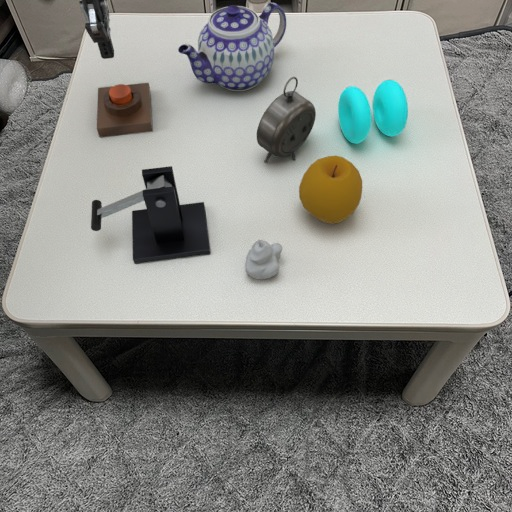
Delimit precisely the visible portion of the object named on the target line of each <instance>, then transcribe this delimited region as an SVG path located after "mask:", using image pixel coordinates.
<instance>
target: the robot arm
mask: <svg viewBox="0 0 512 512" xmlns="http://www.w3.org/2000/svg"><path fill="white" fill-rule="evenodd" d="M107 2H108V0H79V1H78V5H79V9H80V11H81V13H82V14H83V15H84V20H85V22H86V23H85V24H84V29H85V30H86V33H87V34H88V36H89V37H90V39H91V40H92V42H93V43H94V44H97V47H98V50H99V54H100V57H101V59H103V60H106V59H114V58H115V49H114V44H113V41H112V36H111V27H110V22H111V19H110V11H109V7H108V3H107Z"/></svg>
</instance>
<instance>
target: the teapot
mask: <svg viewBox="0 0 512 512" xmlns="http://www.w3.org/2000/svg"><path fill="white" fill-rule="evenodd" d="M275 10H276V11H277V14H278V17H279V25H278V29H277V31H276V34H275V35H274V37H273V33H272V30H271V28H270V26H269V19H270V16H271V14H272V12H274V11H275ZM286 29H287V15H286V13H285V11H284V9H283V8H282V7H281V5H279V4H277V3H276V2H269V3H267V5H266V6H265V7H264V8H263V10H262V11H261V14H258V13H257V12H256V11H254V10H253V9H252V8H249V7H246V6H242V5H237V4H231V5H228V6H224V7H221V8H219V9H216V10H215V11H213V12H211V14H210V15H209V18H208V21H207V23H205V24H204V26H203V27H202V28H201V30H200V31H199V35H198V40H197V50H196V47H193V46H192V45H191V44H190V43H184V44H181V45H180V46H178V49H177V50H178V53H179V54H181V55H182V54H183V55H186V56H187V58H188V61H189V64H190V67H191V71H192V73H193V75H194V77H195V78H196V80H197V81H200V83H203V84H208V85H209V84H211V85H212V84H213V85H214V84H215V85H218V86H219V87H221V88H223V89H224V90H228V91H231V92H246V91H249V90H251V89H254V88H255V87H256V86H258V85H259V84H260V83H261V82H262V80H264V79H265V78H266V77H267V75H269V73H270V71H271V68H272V66H273V62H274V57H275V48H276V47H277V46H278V45H279V44H280V43H281V41H282V40H283V38H284V37H285V36H284V35H285V33H286Z"/></svg>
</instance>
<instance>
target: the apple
mask: <svg viewBox="0 0 512 512" xmlns="http://www.w3.org/2000/svg"><path fill="white" fill-rule="evenodd" d="M362 193H363V178H362V176H361V174H360V170H359V169H358V168H357V167H356V166H355V165H354V163H352V162H351V161H350V160H348V159H347V158H345V157H343V156H339V155H328V156H325V157H322V158H319V159H316V161H314V162H313V163H311V164H310V165H309V167H308V168H307V169H306V171H305V172H304V174H303V176H302V178H301V180H300V183H299V186H298V195H299V200H300V203H301V205H302V206H303V208H304V209H305V210H306V212H307V213H309V214H310V215H311V216H313V217H314V218H315V219H317V220H318V221H321V222H322V223H326V224H338V223H341V222H343V221H345V220H346V219H348V218H349V217H351V216H352V215H353V214H354V212H355V211H356V210H357V208H358V207H359V205H360V203H361V200H362Z"/></svg>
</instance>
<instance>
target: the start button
mask: <svg viewBox="0 0 512 512" xmlns="http://www.w3.org/2000/svg"><path fill="white" fill-rule="evenodd" d="M127 85H128V84H123V83H121V84H120V83H119V84H116V85H115V84H114V85H113V87H112V88H111V89H110V90H109V94H110V98H111V101H112V103H114V104H116V105H124V104H127V103H129V102H130V101H131V100H132V93H131V89H130V87H129V86H127Z"/></svg>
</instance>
